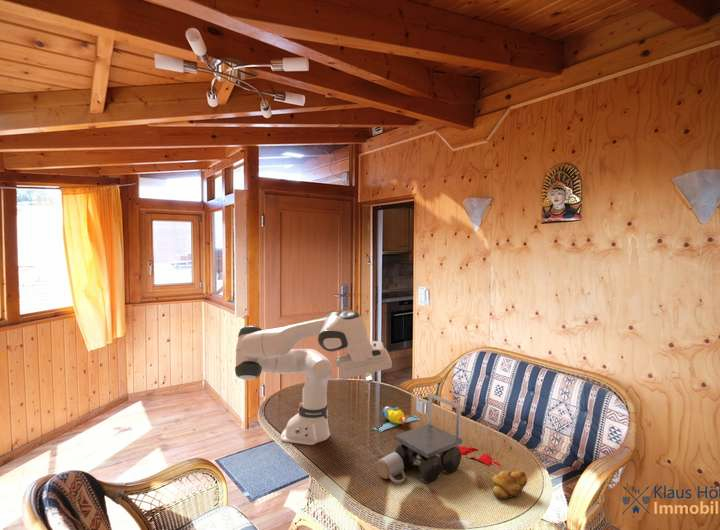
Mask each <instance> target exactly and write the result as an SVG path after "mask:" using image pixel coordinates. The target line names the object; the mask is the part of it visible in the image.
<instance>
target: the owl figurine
mask: <svg viewBox="0 0 720 530" xmlns="http://www.w3.org/2000/svg"><path fill="white" fill-rule="evenodd" d="M380 415H381V417H383V416H384V417H385V418H386V419H387V420H388V421H389V422H387V423H384V424H382V425H383V426H382V427H380V428H379V431H380V430H381V431H380V432H379V433H382V432H384V431H386V430H388V429H391V428H394V427H397V426H399V425H404V424H406V425H407V423H411V422H415V421H419V420H420V421H421V418H419V417H418V416H417V415H413V416H410V415H409V414H406V415H405V413H404V412H403V410H402V409H401V408H400V407H399V406H398V407H397V406H392V405H391V406H384V407H383V409H382V410H381V413H380ZM372 428H373V429H374V430H373V429H372V430H373V431H375V430H377V429H376V427H372Z"/></svg>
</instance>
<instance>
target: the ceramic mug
mask: <svg viewBox="0 0 720 530" xmlns="http://www.w3.org/2000/svg"><path fill="white" fill-rule="evenodd" d="M376 469H377V472H378V474H379V476H380V477H381V478H382V479H385V480H387V479H390V480H391V481H392V483H395V484H398V485H399V484H403V482H404V481H405V478H406V474H405V472H404V469H405V468H404V463H403V460H402V458H401V457H400V455H399V454H397V453H396V451H393V452H391V453H389V454H387V455H385V456H383V457H382V458H380V459H379V460H378V461H377V463H376ZM400 474H401V475H402V479H396V478H395V476H397V475H400Z"/></svg>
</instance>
